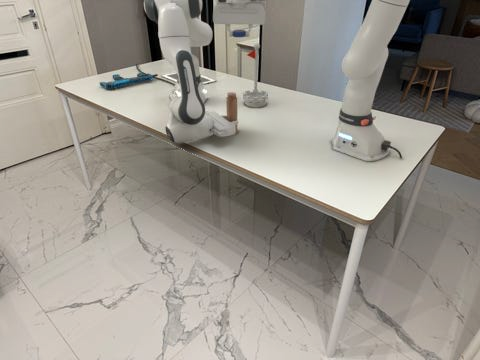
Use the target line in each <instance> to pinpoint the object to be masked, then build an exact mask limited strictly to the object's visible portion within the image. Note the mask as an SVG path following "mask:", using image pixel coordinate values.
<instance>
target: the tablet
mask: <svg viewBox="0 0 480 360" xmlns="http://www.w3.org/2000/svg"><path fill="white" fill-rule="evenodd" d="M200 75H201V83H202V84H203V85H207V84H211V83H214V82H217V80H216V79H214V78H210V77H207V76H206V75H202V74H200ZM177 76H178V74H177V71H175V72H171V73H167V74H163V75H161V77H163V78H165V79H167V80H169V81H171V82H174V83H177Z"/></svg>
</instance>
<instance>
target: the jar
mask: <svg viewBox="0 0 480 360" xmlns="http://www.w3.org/2000/svg"><path fill="white" fill-rule="evenodd" d="M226 95H227V96H226V97H225V99H226V101H225V102H226V105H225V106H226V107H225V108H226V116H227V121H229V122H233V120H237V121H238V122H239V119H238V97H237V93H236V92H233V91H232V92H228V93H227V94H226ZM238 125H239V124H238ZM238 125H235V134H234V135H237V134H238V133H239V132H238Z"/></svg>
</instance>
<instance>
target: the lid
mask: <svg viewBox="0 0 480 360" xmlns="http://www.w3.org/2000/svg"><path fill="white" fill-rule="evenodd" d="M232 31H233V37H234V38H246V32H247V31H246V30H245V29H235V30H232ZM233 37H232V38H233Z"/></svg>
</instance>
